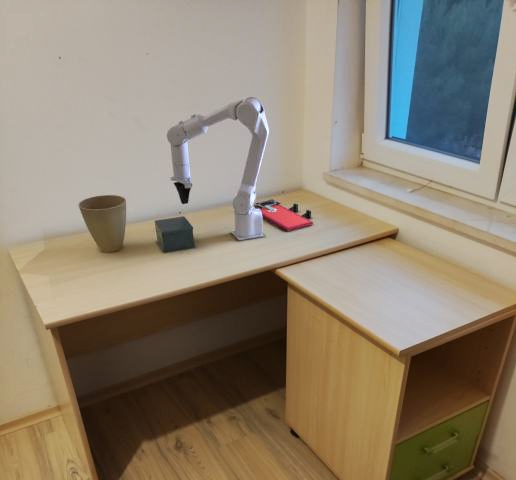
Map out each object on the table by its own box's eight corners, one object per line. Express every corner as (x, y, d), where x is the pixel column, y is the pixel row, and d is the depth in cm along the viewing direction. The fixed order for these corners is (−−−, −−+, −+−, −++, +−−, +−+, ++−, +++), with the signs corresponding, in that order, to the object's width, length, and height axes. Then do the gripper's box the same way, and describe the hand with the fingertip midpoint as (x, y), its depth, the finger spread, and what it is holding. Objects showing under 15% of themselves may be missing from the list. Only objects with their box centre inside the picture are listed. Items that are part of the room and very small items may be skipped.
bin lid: (193, 229, 166) (193, 227, 166) (162, 234, 163) (162, 231, 162) (184, 218, 175) (184, 216, 174) (154, 222, 172) (154, 220, 171)
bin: (194, 247, 171) (192, 228, 167) (164, 252, 167) (161, 233, 164) (186, 236, 179) (184, 218, 175) (157, 241, 175) (154, 222, 172)
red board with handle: (276, 200, 209) (245, 208, 202) (276, 193, 207) (244, 201, 201) (320, 223, 188) (287, 232, 182) (321, 216, 186) (287, 225, 180)
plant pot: (139, 240, 176) (132, 195, 167) (123, 258, 164) (115, 210, 155) (99, 238, 178) (90, 193, 169) (80, 255, 166) (70, 208, 157)
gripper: (164, 159, 174) (168, 198, 181) (174, 170, 162) (178, 211, 170) (184, 157, 176) (187, 196, 183) (195, 167, 165) (199, 208, 172)
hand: (184, 203), depth 177 cm, fingers closed
